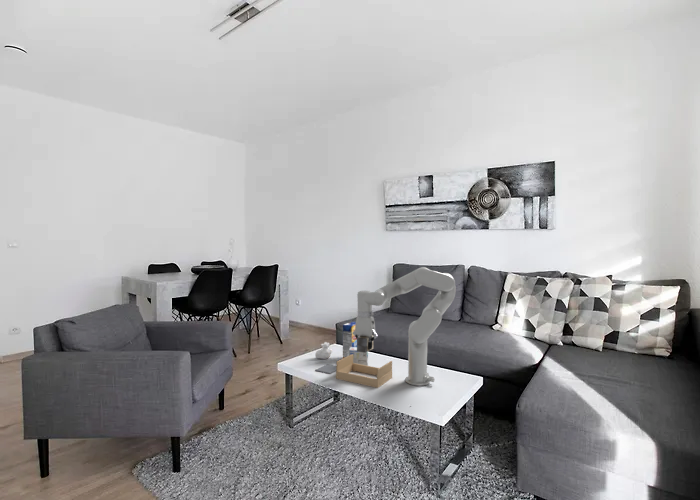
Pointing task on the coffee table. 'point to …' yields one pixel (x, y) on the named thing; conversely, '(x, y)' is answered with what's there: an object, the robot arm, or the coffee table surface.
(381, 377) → the carton
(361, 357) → the light bulb box
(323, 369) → the grey mat
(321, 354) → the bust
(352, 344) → the blue yellow food box
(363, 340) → the block
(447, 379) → the coffee table surface
